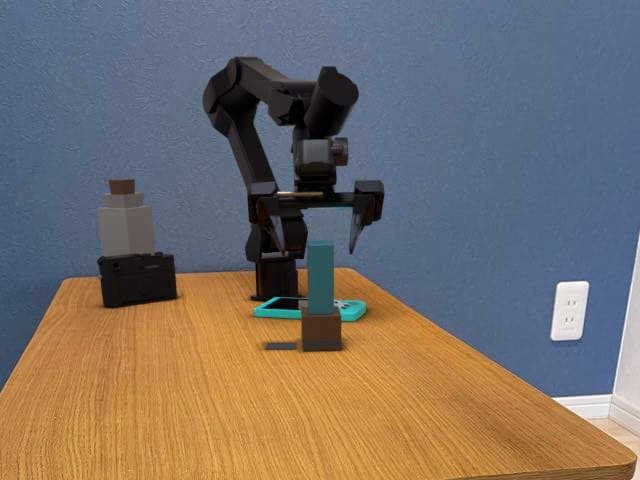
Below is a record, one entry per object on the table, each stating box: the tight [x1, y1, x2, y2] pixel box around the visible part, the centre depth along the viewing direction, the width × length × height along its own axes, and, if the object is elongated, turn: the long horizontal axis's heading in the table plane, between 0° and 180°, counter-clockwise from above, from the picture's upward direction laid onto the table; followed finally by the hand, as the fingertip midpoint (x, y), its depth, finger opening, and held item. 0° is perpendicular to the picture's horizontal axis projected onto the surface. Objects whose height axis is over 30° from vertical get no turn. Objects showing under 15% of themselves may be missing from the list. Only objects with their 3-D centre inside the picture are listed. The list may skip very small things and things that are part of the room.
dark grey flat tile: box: [265, 341, 298, 351], centre depth 113 cm, size 4×4×1 cm
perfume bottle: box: [96, 178, 156, 257], centre depth 153 cm, size 7×7×18 cm
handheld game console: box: [254, 297, 367, 322], centre depth 132 cm, size 10×16×1 cm, turn 72°
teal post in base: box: [300, 239, 342, 352], centre depth 110 cm, size 6×5×13 cm
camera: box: [96, 251, 178, 309], centre depth 142 cm, size 14×7×8 cm, turn 124°
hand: (317, 253), depth 116 cm, fingers open, 9 cm apart
